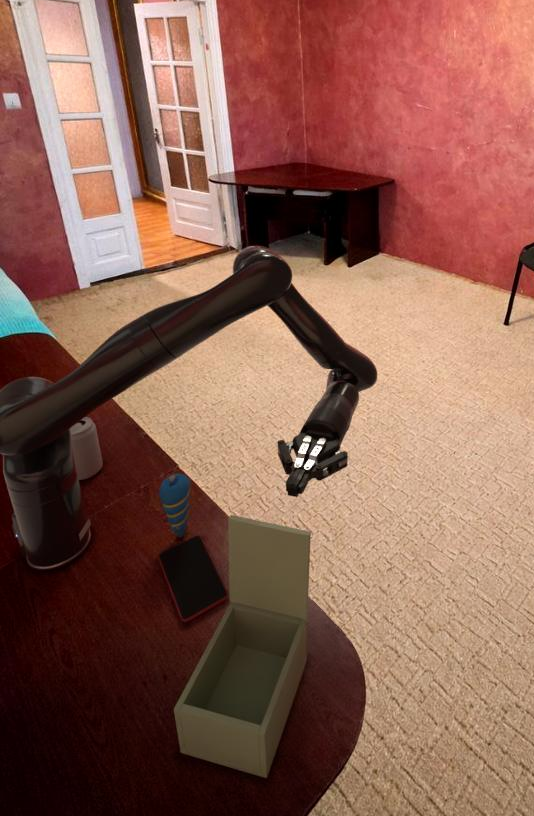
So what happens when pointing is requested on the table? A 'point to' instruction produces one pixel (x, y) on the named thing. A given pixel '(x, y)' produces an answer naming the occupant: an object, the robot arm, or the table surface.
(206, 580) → the smartphone
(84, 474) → the beverage can
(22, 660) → the table surface
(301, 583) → the lid
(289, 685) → the chest
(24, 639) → the table surface
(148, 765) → the table surface
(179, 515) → the ornament
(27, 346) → the table surface
